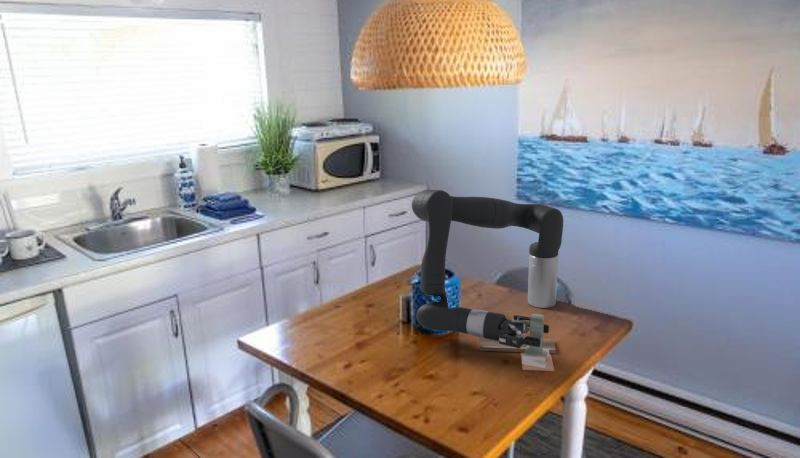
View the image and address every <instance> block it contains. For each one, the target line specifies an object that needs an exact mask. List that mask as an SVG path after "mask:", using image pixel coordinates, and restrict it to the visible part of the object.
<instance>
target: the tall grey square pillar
mask: <svg viewBox="0 0 800 458" xmlns="http://www.w3.org/2000/svg"><path fill="white" fill-rule="evenodd" d="M530 317H531V318H530V331H529V336H530V337H535V338H540V339H541V345H540V347H535V346H530V345H529V346H526V349H525V351H524V352H522V353H523V355H522V360H521V365H522V364H525V365H530V366H535V367H541V368H545V366H546V363H547V361H548V358H549V354H550V353H549V349H545V348H543V338H544V333H543V328H544V323H545V315H544V314H539V313H532V314H531V315H530Z"/></svg>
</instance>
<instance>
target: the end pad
mask: <svg viewBox="0 0 800 458" xmlns="http://www.w3.org/2000/svg"><path fill="white" fill-rule="evenodd" d="M523 353H524V352H520V360H521V361H522V355H523ZM551 354H552V353H549V358H548V361H547V363H546V366H545V368H541V367H535V366H530V365H525V364H522V363H521V367H522V370H523V371H544V372H545V371H546V372H555V368H554V367H555V366H554V363H553V359H552V355H551Z"/></svg>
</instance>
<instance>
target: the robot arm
mask: <svg viewBox="0 0 800 458" xmlns="http://www.w3.org/2000/svg"><path fill="white" fill-rule="evenodd" d="M411 209H412V211H413V213H414V215H415V216H416V217H417V218H418V219H419V220H421V221H423V222H428V239H427V244H426V248H425V250H424V253H423V256H422V259H421V263H420V264H421V265H420V290H421V292H422V293H423V294H424V295H426V294H427V295H434V296H440V297H441V301H440V302H429V303H427V304H426V303H425V304H422V305H421V306H420V307H419V308H418V309H417V310H416V314H415V315H416V321H417V322H418V324H419V325H420V326H421V327H423V328H424V329H428V330H433V331H445V332H447V331H451V332H458V333H461V334H467V335H470V336H473V337H476V338H479V337H480V338H485V339H490V340H495V341H499V344H503V345H507V346H511V347H515V348H521V346H525V345H530V346H535V347H540V345H541V339H540V338H535V337H530V335H525V334H528V332H530V318H531V316H530V317H529V316H523V315H517V314H513V319H507V316H506V315H505V314H504V313H500V312H496V311H495V312H494V311H487V310H483V309H472V308H466V307H462V306H458V307H457V306H455V307H449V308H448V303H447V297H446V293H445V288H446V260H447V259H446V258H447V257H446V256H447V248H448V243H449V235H450V229H451V223H452V222H456V223H460V224H465V225H469V226H474V227H478V228H479V227H480V228H483V229H484V228H485V229H496V230H498V229H500V230H501V229H504V228H509V227H518V228H522V229H525V230H526V229H527V230H530V231H532V232H535V233H537V234H538V240H537V241H536V242H533V243H531V244H530V245H529V248H528V256H529V257H528V279H527V280H528V283H527V304H529V305H530V306H532V307H534V308H535V307H536V308H542V309H547V308H552V307H555V305H557V304H556V303H557V288H558V287H557V286H558V268H559V265H558V264H559V250H560V248H561V246H562V241H563V240H562V239H563V233H564V232H563V231H564V216H563V214H562V212H561V211H560V210H559V209H557V208H555V207H553V206H549V205H547V204H543V203H541V204H540V203H516V202H513V201H509V200H506V199H500V198H496V197H494V198H493V197H487V196H453V195H450V194H449V193H448V192H447V191H445V190H440V189H425V190H422V191H420V192H418V193H416V195H414V197H413V199H412V202H411ZM549 332H550V325H549V324H546V323H545V324H544V328H543V334H548V333H549ZM513 341H514V342H515V343H516V344H515V343H513Z"/></svg>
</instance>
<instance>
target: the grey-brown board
mask: <svg viewBox="0 0 800 458" xmlns="http://www.w3.org/2000/svg"><path fill="white" fill-rule="evenodd" d="M513 343H515V342H514V341H513ZM515 344H516V343H515ZM526 346H529V345H525V346H521V348H515V347H511V346H507V345H503V344H499V341H495V340H490V339H485V338H480V337H478V350H479V351H482V352H483V351H485V352H489V351H490V352H511V353H512V352H514V353H524V351H525V349H526ZM543 348H545V349H549V354H556V346H555V342H554V338H550V337H543Z"/></svg>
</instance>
